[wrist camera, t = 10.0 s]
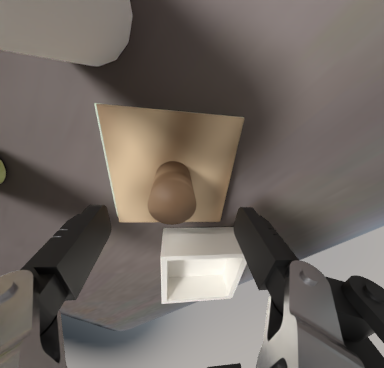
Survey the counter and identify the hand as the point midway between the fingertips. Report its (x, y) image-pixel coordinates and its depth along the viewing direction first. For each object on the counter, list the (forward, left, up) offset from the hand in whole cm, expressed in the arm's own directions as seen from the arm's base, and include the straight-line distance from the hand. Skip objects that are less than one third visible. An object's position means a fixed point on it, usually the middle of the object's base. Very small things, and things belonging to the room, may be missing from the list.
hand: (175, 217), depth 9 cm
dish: (-4, +13, -7) cm, 15 cm away
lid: (0, 0, -6) cm, 6 cm away
